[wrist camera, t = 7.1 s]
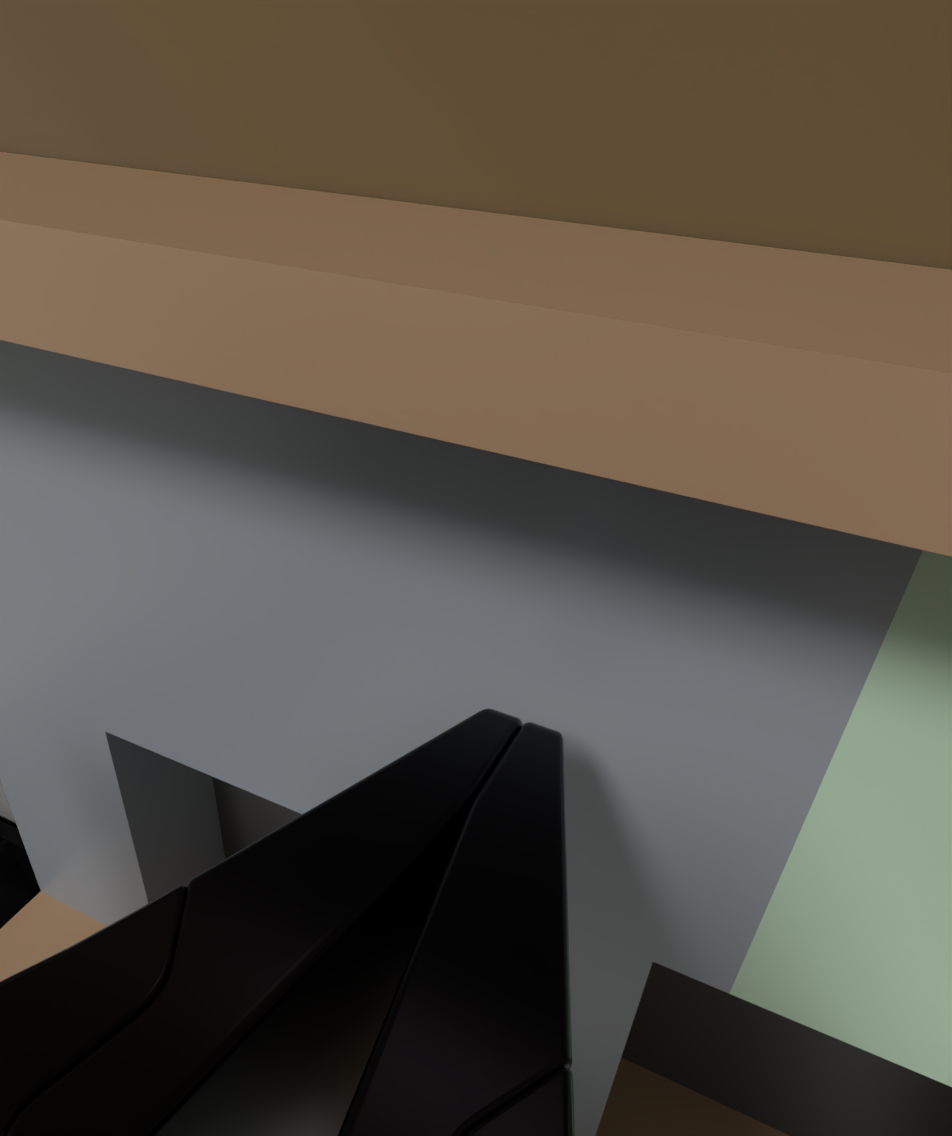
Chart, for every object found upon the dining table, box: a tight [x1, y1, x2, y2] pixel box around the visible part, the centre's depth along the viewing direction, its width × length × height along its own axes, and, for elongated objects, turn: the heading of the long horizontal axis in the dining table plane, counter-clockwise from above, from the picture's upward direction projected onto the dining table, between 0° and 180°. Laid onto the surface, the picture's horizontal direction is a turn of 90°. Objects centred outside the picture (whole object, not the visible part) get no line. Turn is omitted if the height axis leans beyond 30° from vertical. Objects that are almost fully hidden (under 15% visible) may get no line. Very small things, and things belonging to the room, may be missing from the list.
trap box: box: [0, 152, 952, 1136], centre depth 11 cm, size 16×22×4 cm
